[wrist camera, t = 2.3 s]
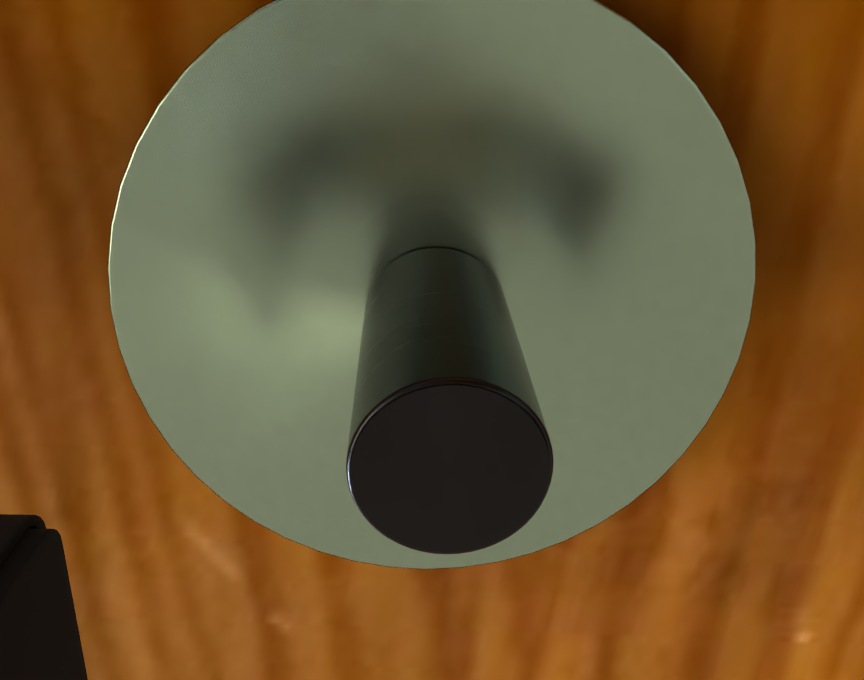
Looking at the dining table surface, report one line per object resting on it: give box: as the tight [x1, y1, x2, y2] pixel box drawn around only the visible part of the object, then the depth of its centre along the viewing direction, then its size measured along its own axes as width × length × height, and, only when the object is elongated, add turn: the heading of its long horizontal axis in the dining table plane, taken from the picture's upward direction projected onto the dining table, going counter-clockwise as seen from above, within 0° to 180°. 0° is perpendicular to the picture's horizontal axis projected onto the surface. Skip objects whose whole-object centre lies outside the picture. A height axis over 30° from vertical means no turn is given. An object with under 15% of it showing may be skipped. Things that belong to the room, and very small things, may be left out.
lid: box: [108, 0, 756, 569], centre depth 15 cm, size 14×14×7 cm
